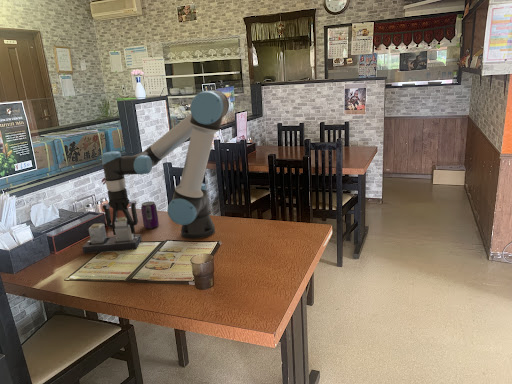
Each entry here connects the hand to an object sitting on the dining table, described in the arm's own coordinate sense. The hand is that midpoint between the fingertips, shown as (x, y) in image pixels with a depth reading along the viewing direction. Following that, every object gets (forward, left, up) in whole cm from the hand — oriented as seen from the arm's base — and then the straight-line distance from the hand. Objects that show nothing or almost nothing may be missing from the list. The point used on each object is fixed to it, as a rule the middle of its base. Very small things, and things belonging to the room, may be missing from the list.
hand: (125, 240), depth 169 cm
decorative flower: (+13, -34, -2) cm, 36 cm away
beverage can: (-6, -22, -2) cm, 23 cm away
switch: (+6, 0, -2) cm, 6 cm away
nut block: (0, 0, 0) cm, 0 cm away
